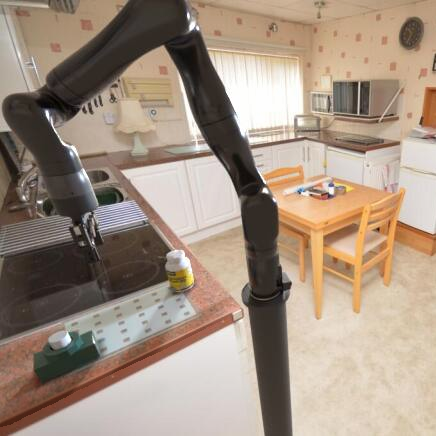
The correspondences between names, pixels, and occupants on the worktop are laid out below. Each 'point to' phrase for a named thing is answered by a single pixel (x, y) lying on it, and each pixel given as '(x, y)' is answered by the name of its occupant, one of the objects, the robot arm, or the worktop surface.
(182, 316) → the worktop surface
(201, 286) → the worktop surface
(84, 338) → the button base
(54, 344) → the white short cylinder
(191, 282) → the pill bottle
